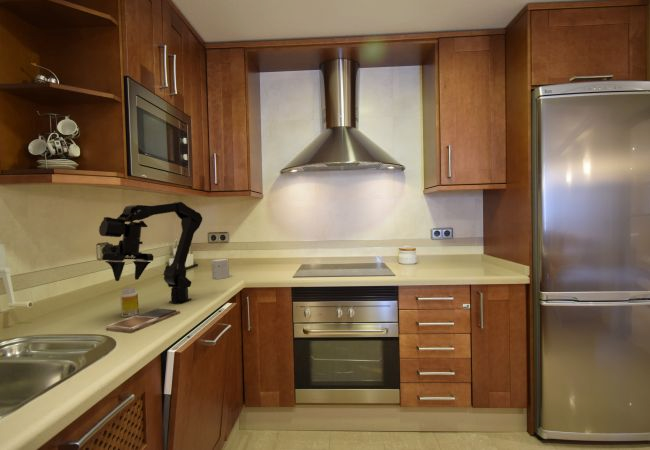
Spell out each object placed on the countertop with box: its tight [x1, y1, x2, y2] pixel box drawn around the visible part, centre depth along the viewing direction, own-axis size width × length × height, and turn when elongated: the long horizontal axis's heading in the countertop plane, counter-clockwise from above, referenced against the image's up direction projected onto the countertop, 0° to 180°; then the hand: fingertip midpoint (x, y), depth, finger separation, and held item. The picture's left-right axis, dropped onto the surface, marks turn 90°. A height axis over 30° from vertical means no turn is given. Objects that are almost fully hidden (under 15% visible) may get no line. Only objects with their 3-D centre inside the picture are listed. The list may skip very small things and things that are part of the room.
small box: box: [210, 258, 230, 280], centre depth 191 cm, size 8×6×10 cm
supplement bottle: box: [119, 286, 139, 318], centre depth 126 cm, size 6×6×10 cm
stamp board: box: [105, 308, 181, 334], centre depth 119 cm, size 21×11×1 cm, turn 160°
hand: (127, 280), depth 125 cm, fingers open, 9 cm apart
